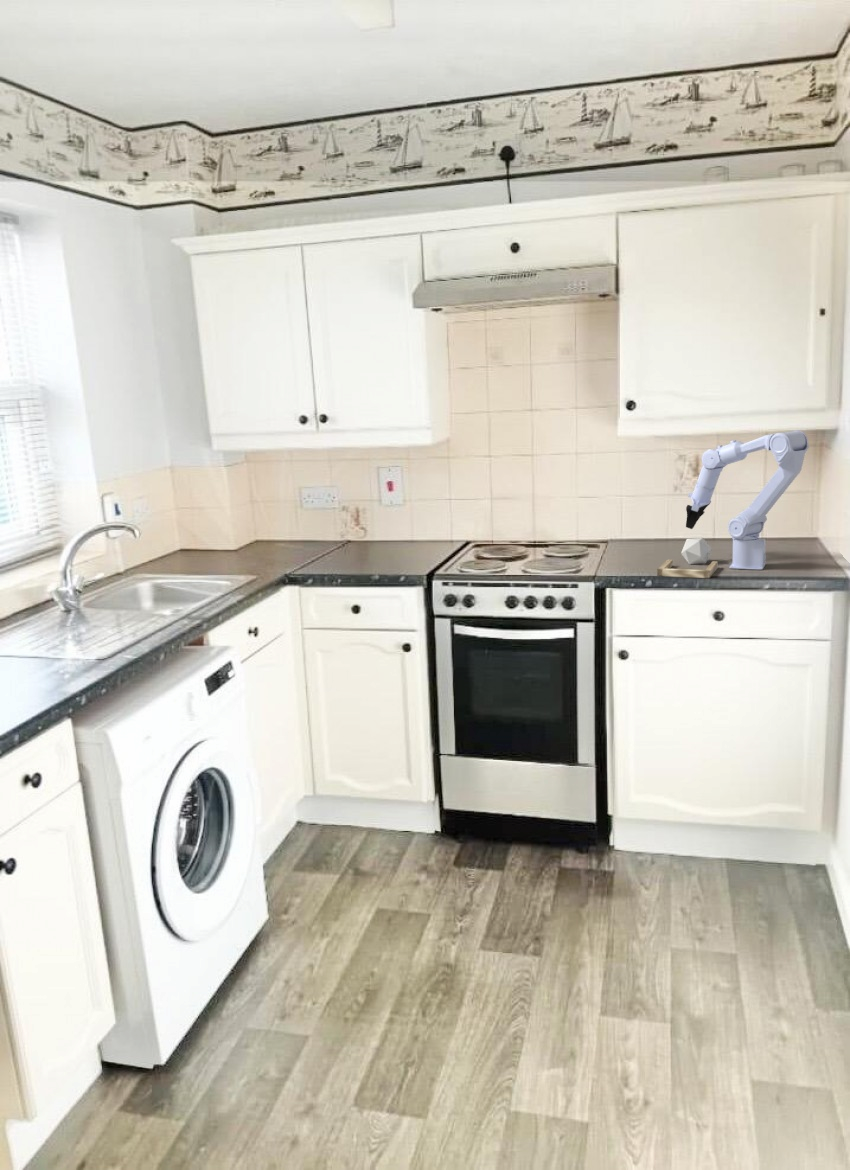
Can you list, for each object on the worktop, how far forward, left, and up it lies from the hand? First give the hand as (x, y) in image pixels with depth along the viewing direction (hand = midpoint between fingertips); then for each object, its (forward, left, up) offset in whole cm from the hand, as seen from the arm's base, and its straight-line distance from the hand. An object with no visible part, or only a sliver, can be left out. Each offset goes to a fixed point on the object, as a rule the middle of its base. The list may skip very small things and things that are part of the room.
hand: (691, 523), depth 288 cm
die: (-3, +6, -12) cm, 13 cm away
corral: (-3, +19, -11) cm, 22 cm away
